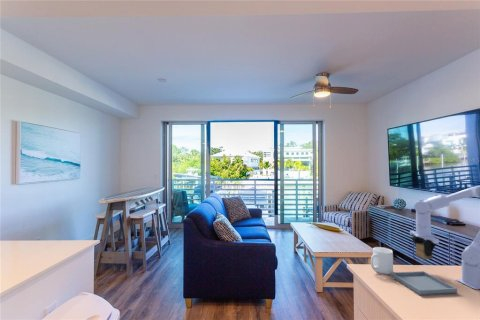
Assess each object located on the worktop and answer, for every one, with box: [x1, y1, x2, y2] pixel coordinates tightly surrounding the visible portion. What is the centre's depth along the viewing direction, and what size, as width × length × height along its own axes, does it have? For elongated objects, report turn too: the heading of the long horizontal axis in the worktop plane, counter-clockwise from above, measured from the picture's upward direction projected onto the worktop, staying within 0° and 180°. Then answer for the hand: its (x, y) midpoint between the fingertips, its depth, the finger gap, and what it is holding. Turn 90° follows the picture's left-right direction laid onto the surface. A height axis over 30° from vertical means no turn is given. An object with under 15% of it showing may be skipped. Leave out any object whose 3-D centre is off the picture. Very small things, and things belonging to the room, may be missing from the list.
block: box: [415, 243, 433, 260], centre depth 118 cm, size 4×4×6 cm
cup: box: [370, 246, 394, 275], centre depth 118 cm, size 8×12×10 cm
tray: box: [390, 270, 458, 297], centre depth 104 cm, size 16×16×2 cm
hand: (423, 254), depth 117 cm, fingers closed on block, 4 cm apart
